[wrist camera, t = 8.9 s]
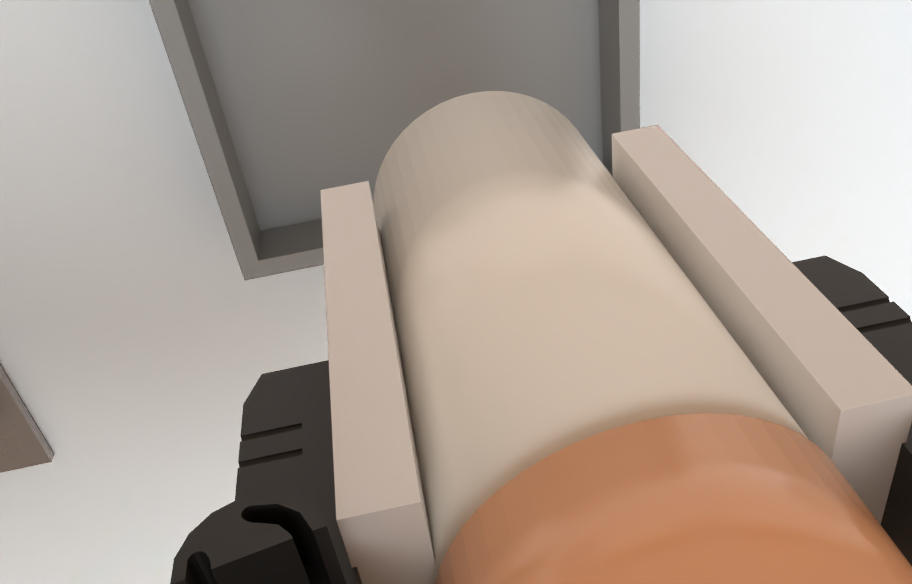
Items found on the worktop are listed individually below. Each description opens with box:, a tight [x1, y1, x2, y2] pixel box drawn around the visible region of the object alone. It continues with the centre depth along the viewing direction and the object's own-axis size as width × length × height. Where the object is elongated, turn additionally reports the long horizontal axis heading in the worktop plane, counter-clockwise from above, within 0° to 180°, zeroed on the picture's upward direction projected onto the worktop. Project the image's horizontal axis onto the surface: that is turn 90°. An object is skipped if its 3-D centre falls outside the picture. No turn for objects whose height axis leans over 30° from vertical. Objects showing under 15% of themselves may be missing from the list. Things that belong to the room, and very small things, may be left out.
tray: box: [149, 0, 640, 280], centre depth 23 cm, size 13×13×2 cm
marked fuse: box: [374, 91, 912, 584], centre depth 10 cm, size 4×4×10 cm
